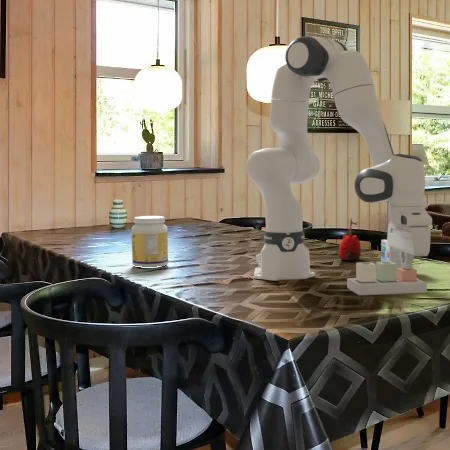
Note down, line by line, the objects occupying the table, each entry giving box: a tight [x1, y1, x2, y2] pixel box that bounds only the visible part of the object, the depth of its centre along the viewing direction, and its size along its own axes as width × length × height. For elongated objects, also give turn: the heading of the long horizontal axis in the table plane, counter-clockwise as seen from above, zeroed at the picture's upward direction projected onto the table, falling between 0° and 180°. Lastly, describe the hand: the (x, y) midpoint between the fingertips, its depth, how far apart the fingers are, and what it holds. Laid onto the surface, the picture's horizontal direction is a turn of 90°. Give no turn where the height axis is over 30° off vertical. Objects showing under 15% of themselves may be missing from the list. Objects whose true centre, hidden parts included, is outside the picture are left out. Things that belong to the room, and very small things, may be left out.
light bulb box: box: [380, 239, 402, 268], centre depth 195 cm, size 11×7×11 cm, turn 1°
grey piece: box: [346, 277, 428, 296], centre depth 172 cm, size 10×18×4 cm, turn 96°
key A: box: [355, 261, 376, 282], centre depth 171 cm, size 4×4×5 cm
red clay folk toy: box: [338, 218, 362, 262], centre depth 227 cm, size 8×7×15 cm
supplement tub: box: [131, 215, 169, 267], centre depth 221 cm, size 12×12×17 cm
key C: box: [396, 267, 418, 282], centre depth 172 cm, size 4×4×5 cm
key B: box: [375, 261, 397, 281], centre depth 171 cm, size 4×4×5 cm
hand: (406, 268), depth 172 cm, fingers closed, pressing on key C
